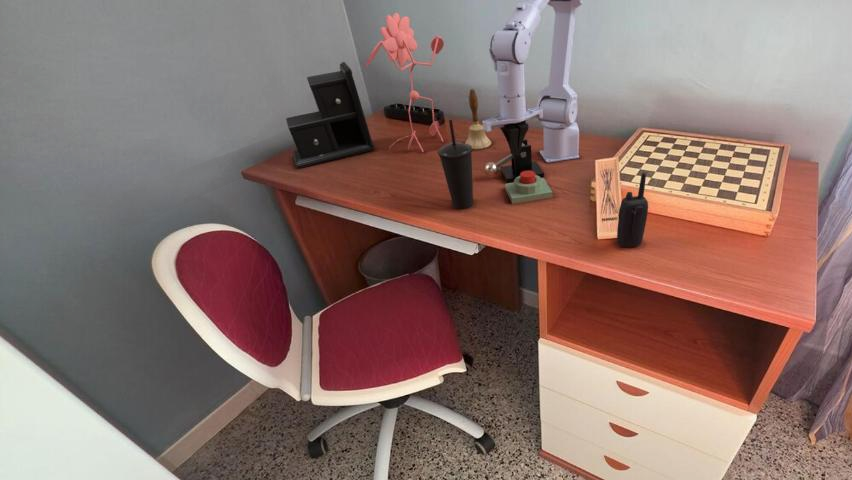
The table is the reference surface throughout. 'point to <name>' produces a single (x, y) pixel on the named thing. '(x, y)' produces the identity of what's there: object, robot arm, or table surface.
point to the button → (527, 177)
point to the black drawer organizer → (331, 121)
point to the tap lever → (496, 165)
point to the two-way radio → (632, 217)
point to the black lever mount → (521, 165)
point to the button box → (528, 190)
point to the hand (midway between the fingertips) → (515, 154)
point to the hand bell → (476, 126)
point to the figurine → (405, 57)
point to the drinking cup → (458, 171)
